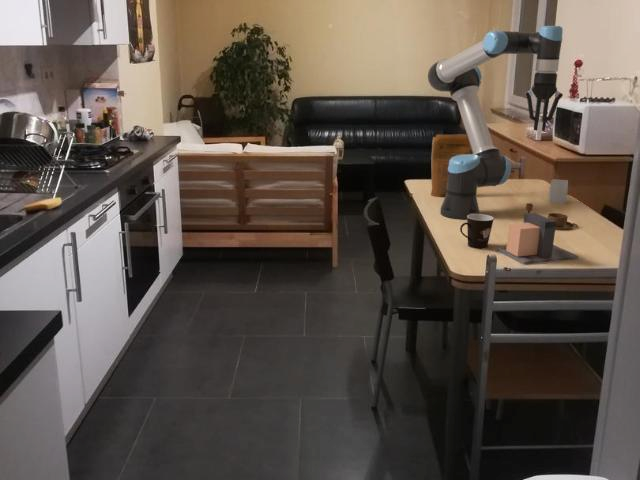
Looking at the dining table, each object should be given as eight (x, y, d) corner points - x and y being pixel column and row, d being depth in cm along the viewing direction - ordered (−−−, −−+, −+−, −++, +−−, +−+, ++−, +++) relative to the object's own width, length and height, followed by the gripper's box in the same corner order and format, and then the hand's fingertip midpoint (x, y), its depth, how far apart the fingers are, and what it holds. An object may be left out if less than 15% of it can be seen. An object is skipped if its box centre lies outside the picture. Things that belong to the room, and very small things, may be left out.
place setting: (536, 231, 233) (538, 216, 231) (521, 217, 252) (523, 203, 250) (584, 233, 232) (587, 217, 231) (566, 218, 252) (568, 204, 250)
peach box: (517, 256, 198) (520, 229, 196) (506, 250, 204) (509, 224, 201) (543, 253, 202) (547, 226, 199) (532, 248, 207) (535, 221, 204)
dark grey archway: (540, 257, 199) (545, 222, 195) (520, 247, 208) (524, 213, 205) (551, 256, 200) (556, 221, 196) (530, 246, 209) (534, 212, 206)
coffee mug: (486, 242, 217) (489, 214, 214) (493, 250, 209) (497, 220, 206) (452, 241, 216) (455, 213, 213) (459, 249, 208) (461, 220, 205)
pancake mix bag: (472, 199, 278) (478, 135, 269) (428, 197, 279) (433, 133, 271) (470, 195, 284) (475, 133, 276) (427, 194, 286) (431, 131, 277)
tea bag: (565, 203, 273) (568, 181, 270) (549, 202, 274) (552, 180, 271) (564, 201, 276) (567, 179, 273) (548, 200, 277) (551, 178, 274)
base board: (523, 264, 195) (524, 261, 195) (497, 250, 208) (498, 248, 207) (578, 258, 201) (578, 255, 201) (549, 245, 214) (549, 243, 214)
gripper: (563, 72, 224) (555, 139, 231) (525, 71, 226) (518, 137, 233) (567, 73, 216) (558, 142, 224) (528, 72, 219) (520, 140, 226)
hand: (538, 139), depth 228 cm, fingers closed
